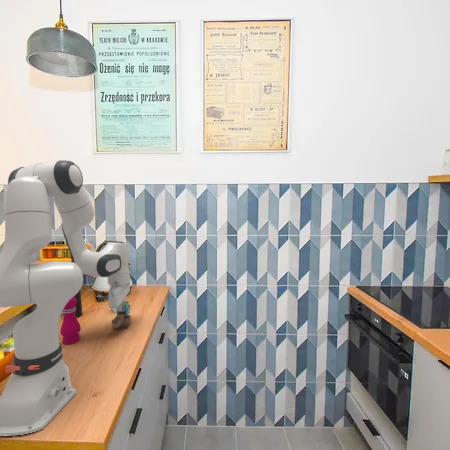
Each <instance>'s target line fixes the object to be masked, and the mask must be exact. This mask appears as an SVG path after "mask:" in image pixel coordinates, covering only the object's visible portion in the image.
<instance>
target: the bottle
mask: <svg viewBox="0 0 450 450" xmlns="http://www.w3.org/2000/svg"><path fill="white" fill-rule="evenodd" d="M81 289H82V288H81ZM81 289H80V290H79V292H78V293H77V294H76V295H75V297H76V299H77V303H76V305H75V306H76V311H75V316H76V318H77V319H78V318H80V317H82V315H83V304H82V291H81Z"/></svg>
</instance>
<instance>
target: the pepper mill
mask: <svg viewBox="0 0 450 450" xmlns="http://www.w3.org/2000/svg"><path fill="white" fill-rule="evenodd" d="M76 303H77V299H76V297H75V296H74V297H72V298H71V299H70V300H69V302H68V303H67V304H66V305H65V307H64V309H63V311H62V313H61V314H63V315H62V316H63V320H62V324H61V326H60V328H59V334H60V336H62V338H61V339H62V343H63V344H64V345H72V344H75V343H77V342H79V341H80V339H81V335H80V332H81V329H82V327H81V324H80V322H79V320H78V317H77V318H76V316H75V311H76V306H75V305H76Z"/></svg>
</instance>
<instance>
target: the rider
mask: <svg viewBox="0 0 450 450" xmlns="http://www.w3.org/2000/svg"><path fill="white" fill-rule="evenodd" d="M129 305H130V302H124V305H123V306H124V308H123V310H122V311H118V309H117V313H116V316H117V315H118V314H119V313H120V312H126V316H128V315H130V314H131V305H130V306H129Z"/></svg>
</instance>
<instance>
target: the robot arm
mask: <svg viewBox="0 0 450 450" xmlns="http://www.w3.org/2000/svg"><path fill="white" fill-rule="evenodd" d="M83 177H84V176H83V172H82V170H81V169H80V167H79V166H78V165H77V164H76V163H74V161H72V160H63V159H62V160H61V159H60V160H57V161H49V162H38V163H34V164H29V165H27V166H20V167H18V168H16V169H14V170H12V171H10V173H9V175H8V177H7V188H6V195H5V202H4V218H5V219H4V220H5V222H4V224H5V225H4V226H5V227H4V228H5V229H4V230H5V232H4V242H3V247H2V249H1V252H0V308H4V309H6V308H12V307H18V306H25V305H26V306H27V305H31V304H33V305H36V309H35V310H34V311H32V312H30V313H29V314H26V315H25V316H23V317H22V318H21V319H20V320H18V321H17V323H16V324H15V325H14V327H13V330H12V337H13V348H14V353H13V359H12V362H11V364H7V365H6V367H5V369H4V370H5V371H4V373H6V374H10V373H11V374H10V376H9V378H8V380H7V382H6V385H5V387H4V389H3V391H2V393H1V395H0V436H1V435H2V436H4V435H8V436H11V435H22V434H27V435H29V434H28V433H31V434H33V433H32V432H34V433H36V431H37V432H39V431H42V430H43V429H45V427H46V426H47V425H48V424H49V423H50V422H51V421H52V420H53V419H54V418H55V417H56V416H57V415H58V413H60V411H61V410H63V408H64V407H65V406H66V405H67V404H68V403H69V402H70V401H71V399H73V398H74V397H75V395H77V391H76V388H75V387H74V386H72V383H71V378H70V377H71V376H70V371H69V366H68V365H67V364H66V363H65V361H64V359H63V351H64V350H63V346H62V342H60V322H61V321H60V320H61V315H62V314H63V313H62V311H63V309H64V307H65V305H66V304H67V303H68V302H69V300H70V299H71V298H72V297H74V296H75V295H76V294H77V293H78V292H79V290H80V289H82V286H83V284H84V276H89V277H96V278H97V277H98V278H107V284H108V285H109V286H110V285H111V288H110V287H109V289H108V293H107V294H108V296H107V297H108V307H109V308H110V309H111V308H117V309H118V311H122V310H123V308H124V306H123V305H124V298H125V299H126V297H127V295H128V294H129V293H130V291H131V290H130V289H131V277H132V273H131V272H130V269H129V262H130V261H129V260H130V259H129V257H130V256H129V249H128V246H127V244H126V242H124V241H120V240H118V241H117V240H110V241H107V242H106V245H105V247H104V248H102V249H101V250H100V251H91V250H90V249H88V248H87V246H86V243H85V240H84V237H83V234H82V230H83V229H85V228H86V227H88V226H90V224H91V223H92V221H93V220H94V218H95V210H94V206H93V203H92V202H91V199H90V196H89V195H88V193H87V191H86V189H85V187H84V186H83V183H84V178H83ZM49 199H53V202H54V204H55V208H56V209H57V211H58V213H59V216H60V218H61V230H62V234H63V237H64V239H65V242H66V245H67V248H68V251H69V254H70V259H71V261H47V262H37V263H29V259H30V257H31V256H32V255H33V254H35V253H37V252H38V251H40V250H42V249H44V248H46V247H47V246H48V245H49V244H50V243H51V242H52V238H53V235H52V234H53V233H52V231H53V230H52V216H51V207H50V200H49ZM41 429H42V430H41ZM22 436H23V435H22Z"/></svg>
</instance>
